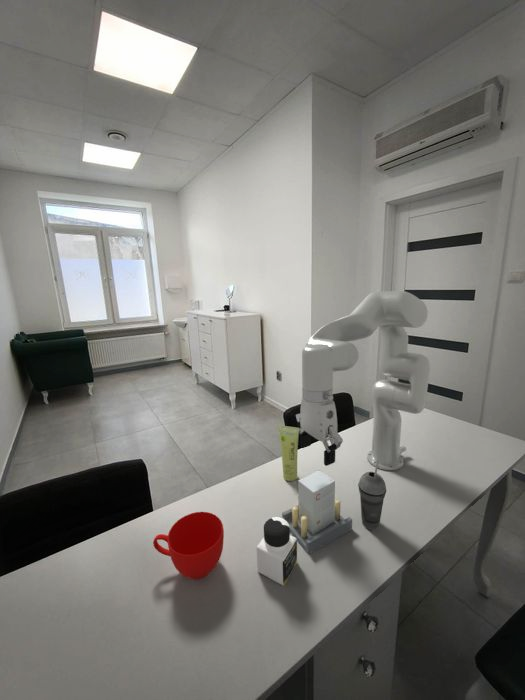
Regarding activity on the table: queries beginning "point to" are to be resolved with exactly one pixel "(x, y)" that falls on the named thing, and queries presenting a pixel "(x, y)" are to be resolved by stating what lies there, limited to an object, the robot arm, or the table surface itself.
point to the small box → (317, 500)
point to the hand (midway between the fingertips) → (317, 454)
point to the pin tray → (323, 536)
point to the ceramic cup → (194, 544)
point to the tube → (289, 451)
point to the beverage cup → (371, 498)
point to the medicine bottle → (277, 551)
